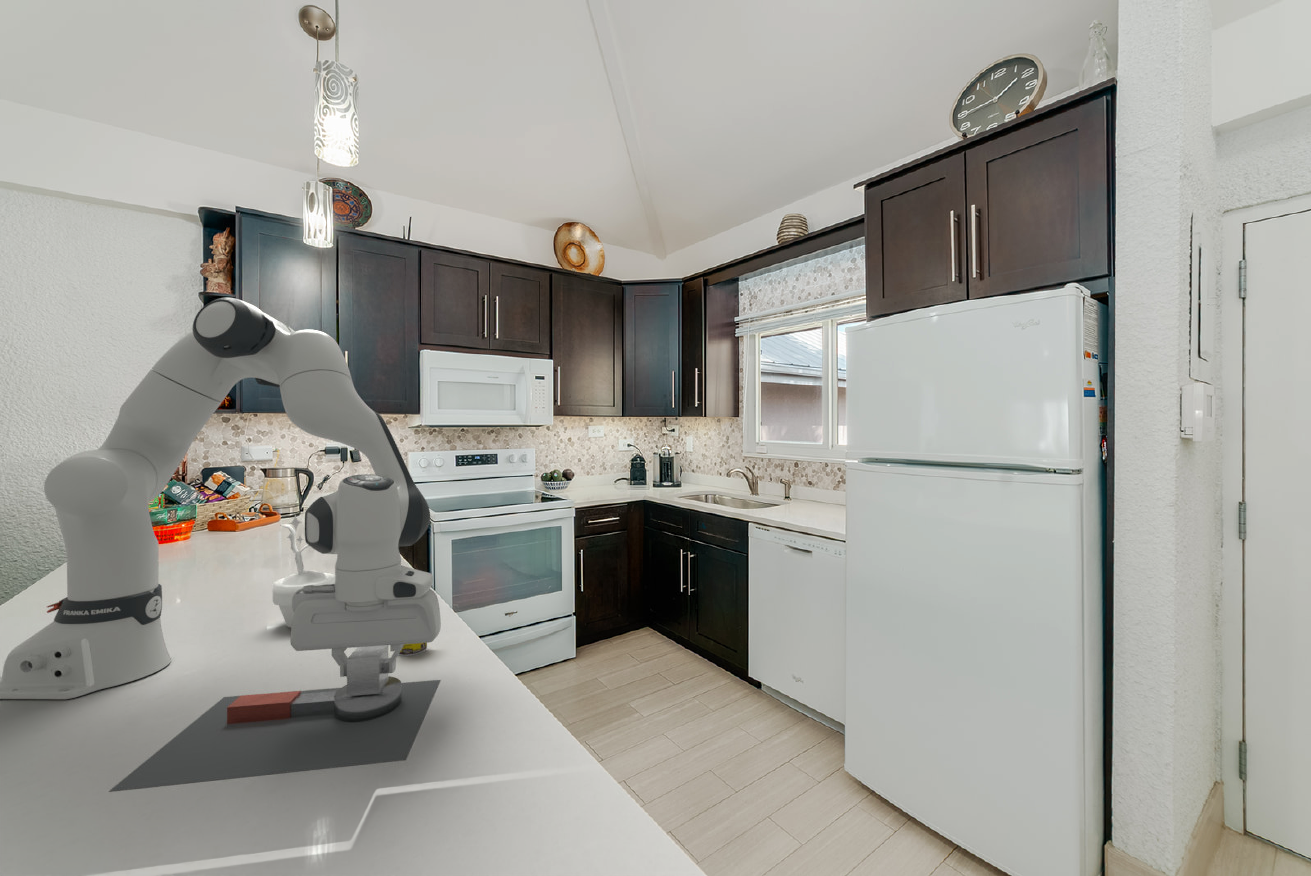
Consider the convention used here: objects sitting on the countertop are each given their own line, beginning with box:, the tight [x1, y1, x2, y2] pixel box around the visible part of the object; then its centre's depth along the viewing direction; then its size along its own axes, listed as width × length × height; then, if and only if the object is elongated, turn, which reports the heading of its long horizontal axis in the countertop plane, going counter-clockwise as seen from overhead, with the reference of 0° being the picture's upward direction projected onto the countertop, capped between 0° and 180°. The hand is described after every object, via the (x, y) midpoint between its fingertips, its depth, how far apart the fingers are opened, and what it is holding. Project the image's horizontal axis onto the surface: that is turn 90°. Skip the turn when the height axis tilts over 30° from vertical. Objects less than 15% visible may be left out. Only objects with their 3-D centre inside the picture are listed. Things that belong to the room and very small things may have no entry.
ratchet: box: [227, 675, 403, 724], centre depth 79 cm, size 22×9×5 cm, turn 101°
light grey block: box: [346, 645, 389, 696], centre depth 80 cm, size 4×4×6 cm
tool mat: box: [108, 679, 441, 793], centre depth 75 cm, size 32×22×1 cm
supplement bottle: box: [398, 643, 428, 657], centre depth 101 cm, size 6×6×10 cm
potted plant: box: [272, 513, 335, 629], centre depth 115 cm, size 13×12×25 cm
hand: (368, 673), depth 80 cm, fingers closed on light grey block, 4 cm apart
